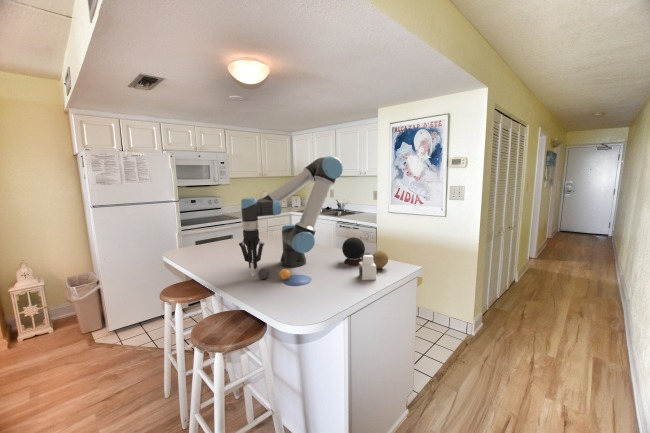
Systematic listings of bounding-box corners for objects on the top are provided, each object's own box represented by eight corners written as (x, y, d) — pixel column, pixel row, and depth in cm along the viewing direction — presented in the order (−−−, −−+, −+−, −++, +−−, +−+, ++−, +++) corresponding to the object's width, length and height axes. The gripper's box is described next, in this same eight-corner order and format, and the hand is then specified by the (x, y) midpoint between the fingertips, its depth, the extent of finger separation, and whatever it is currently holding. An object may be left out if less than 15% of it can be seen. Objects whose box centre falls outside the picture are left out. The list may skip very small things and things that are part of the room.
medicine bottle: (359, 275, 146) (358, 252, 144) (372, 274, 146) (372, 251, 145) (362, 280, 139) (361, 256, 137) (376, 279, 139) (376, 255, 138)
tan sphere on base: (390, 271, 151) (390, 252, 149) (373, 271, 150) (373, 253, 149) (385, 265, 160) (385, 248, 158) (369, 266, 159) (369, 249, 158)
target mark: (314, 275, 147) (314, 275, 147) (307, 286, 133) (307, 286, 133) (288, 274, 149) (288, 274, 149) (279, 285, 136) (279, 284, 136)
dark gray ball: (259, 268, 147) (263, 278, 148) (254, 272, 142) (259, 282, 142) (268, 265, 146) (272, 274, 146) (263, 269, 140) (268, 279, 141)
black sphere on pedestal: (339, 265, 163) (339, 239, 161) (345, 258, 175) (345, 234, 173) (362, 267, 158) (362, 240, 156) (367, 260, 170) (367, 235, 168)
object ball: (279, 274, 146) (289, 279, 145) (276, 278, 140) (285, 283, 140) (284, 265, 144) (293, 270, 144) (280, 268, 139) (290, 274, 139)
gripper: (234, 230, 139) (238, 276, 143) (259, 230, 137) (262, 277, 140) (242, 227, 147) (245, 271, 150) (266, 227, 144) (268, 272, 148)
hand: (253, 274), depth 145 cm, fingers closed
